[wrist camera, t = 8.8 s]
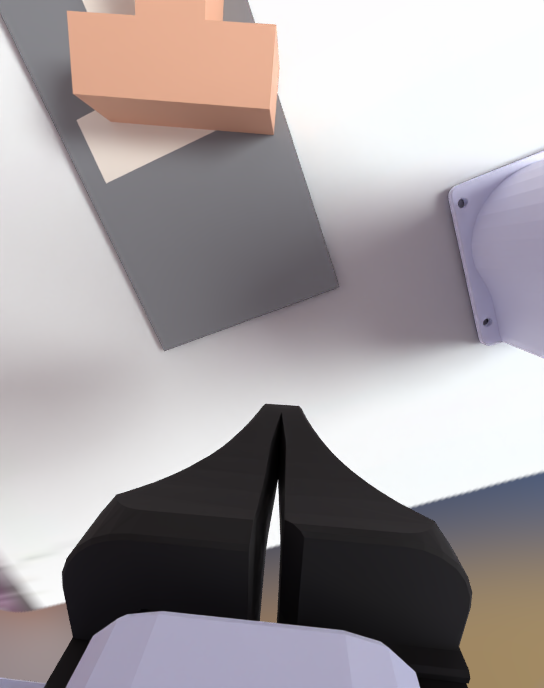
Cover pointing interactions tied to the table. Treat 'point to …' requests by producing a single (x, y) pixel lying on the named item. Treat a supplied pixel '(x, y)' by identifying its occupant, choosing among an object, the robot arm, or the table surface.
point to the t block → (176, 66)
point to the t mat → (182, 193)
